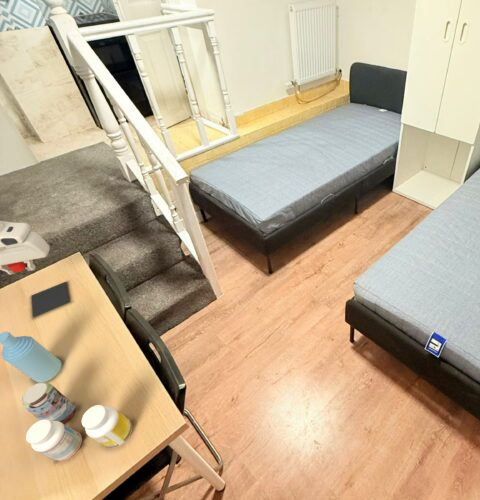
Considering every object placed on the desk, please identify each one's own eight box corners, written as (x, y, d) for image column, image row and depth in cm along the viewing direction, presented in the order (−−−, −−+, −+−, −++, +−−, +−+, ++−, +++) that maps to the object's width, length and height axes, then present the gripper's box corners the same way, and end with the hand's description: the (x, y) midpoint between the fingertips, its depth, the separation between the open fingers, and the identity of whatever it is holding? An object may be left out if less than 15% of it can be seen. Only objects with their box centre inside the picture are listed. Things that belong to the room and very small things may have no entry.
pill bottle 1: (54, 440, 79) (22, 424, 71) (82, 427, 80) (55, 410, 73) (52, 467, 75) (19, 452, 67) (83, 452, 77) (53, 437, 69)
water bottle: (29, 385, 88) (-21, 352, 76) (38, 362, 93) (-8, 327, 81) (57, 379, 89) (12, 345, 77) (64, 356, 94) (23, 321, 82)
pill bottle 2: (133, 414, 82) (110, 395, 74) (133, 441, 78) (109, 424, 70) (104, 425, 81) (78, 407, 72) (103, 453, 76) (75, 437, 68)
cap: (9, 271, 98) (4, 265, 96) (21, 261, 100) (16, 256, 98) (19, 273, 97) (13, 268, 95) (30, 264, 99) (25, 259, 98)
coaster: (33, 317, 104) (32, 316, 104) (32, 296, 110) (31, 295, 110) (69, 302, 108) (68, 301, 107) (66, 282, 114) (65, 281, 113)
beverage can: (54, 436, 79) (20, 418, 71) (46, 412, 83) (14, 393, 75) (82, 417, 82) (53, 397, 74) (74, 395, 86) (45, 374, 78)
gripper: (-62, 252, 86) (-21, 286, 95) (25, 237, 89) (56, 271, 98) (-49, 236, 90) (-11, 270, 100) (34, 222, 93) (62, 256, 103)
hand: (23, 270), depth 99 cm, fingers closed on cap, 4 cm apart
